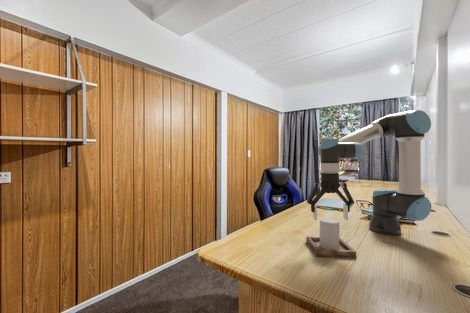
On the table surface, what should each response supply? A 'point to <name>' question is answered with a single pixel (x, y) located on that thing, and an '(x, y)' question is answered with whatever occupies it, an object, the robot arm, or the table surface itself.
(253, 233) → the table surface
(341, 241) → the tray
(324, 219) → the pale grey cylinder
